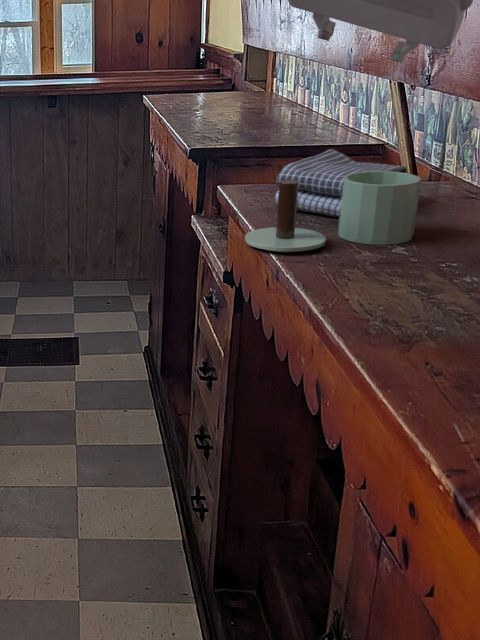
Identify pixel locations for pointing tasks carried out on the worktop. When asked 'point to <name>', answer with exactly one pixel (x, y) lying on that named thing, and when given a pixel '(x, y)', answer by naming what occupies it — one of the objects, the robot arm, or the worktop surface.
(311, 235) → the lid
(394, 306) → the worktop surface
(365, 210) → the canister
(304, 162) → the towel
